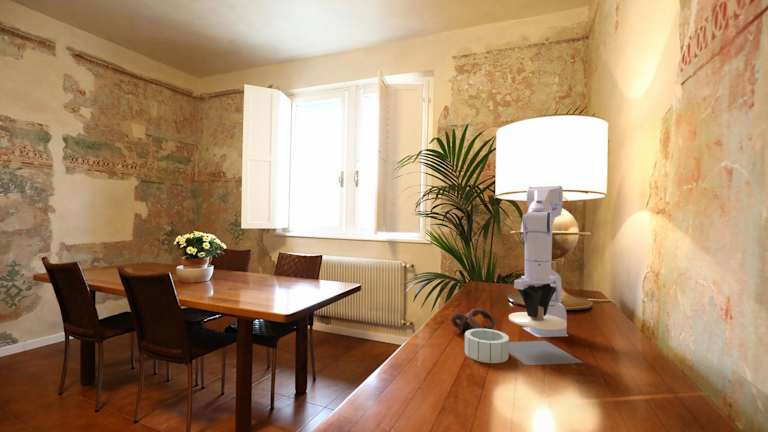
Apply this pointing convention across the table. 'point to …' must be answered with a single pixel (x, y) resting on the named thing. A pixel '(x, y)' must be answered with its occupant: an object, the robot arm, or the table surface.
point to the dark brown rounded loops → (471, 320)
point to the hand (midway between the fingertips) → (536, 315)
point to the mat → (540, 353)
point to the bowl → (487, 345)
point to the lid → (538, 320)
